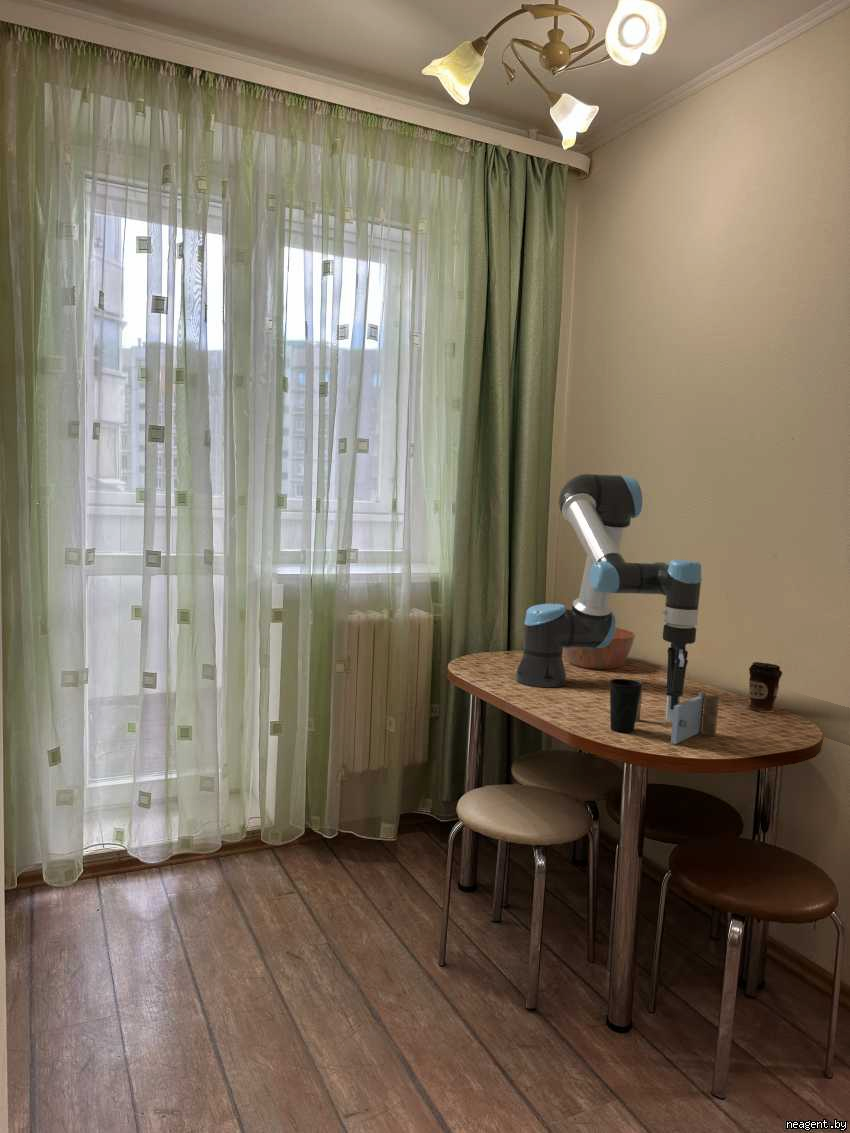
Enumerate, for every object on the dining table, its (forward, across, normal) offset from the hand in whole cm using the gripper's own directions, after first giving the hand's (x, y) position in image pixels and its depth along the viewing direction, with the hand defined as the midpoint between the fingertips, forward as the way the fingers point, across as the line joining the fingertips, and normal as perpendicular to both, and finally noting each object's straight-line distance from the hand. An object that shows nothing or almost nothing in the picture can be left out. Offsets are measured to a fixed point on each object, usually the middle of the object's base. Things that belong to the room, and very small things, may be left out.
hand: (671, 721), depth 207 cm
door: (+4, -2, +5) cm, 7 cm away
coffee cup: (+5, -36, +31) cm, 47 cm away
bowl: (+5, -80, -12) cm, 81 cm away
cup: (+5, -4, -11) cm, 13 cm away
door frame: (+4, -10, +2) cm, 12 cm away
